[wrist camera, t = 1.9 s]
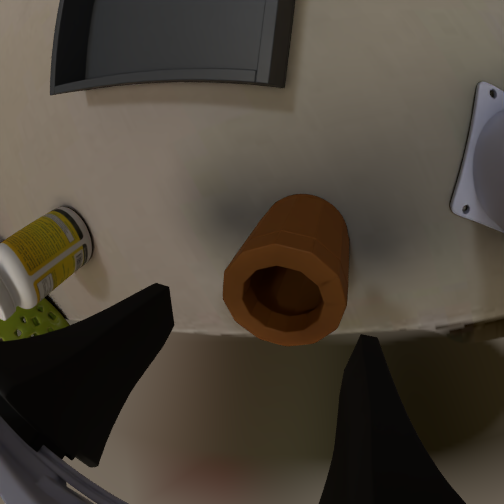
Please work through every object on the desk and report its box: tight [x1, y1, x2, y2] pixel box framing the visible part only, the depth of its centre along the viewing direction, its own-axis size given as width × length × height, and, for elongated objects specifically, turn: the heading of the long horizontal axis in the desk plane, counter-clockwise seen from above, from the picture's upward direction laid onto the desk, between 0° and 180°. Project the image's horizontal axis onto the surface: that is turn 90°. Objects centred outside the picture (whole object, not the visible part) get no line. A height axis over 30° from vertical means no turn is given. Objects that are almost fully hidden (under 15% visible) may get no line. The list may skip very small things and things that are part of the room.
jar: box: [223, 194, 349, 346], centre depth 15 cm, size 5×5×6 cm
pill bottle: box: [0, 207, 92, 321], centre depth 20 cm, size 6×6×11 cm
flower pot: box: [0, 298, 70, 341], centre depth 30 cm, size 14×14×13 cm
